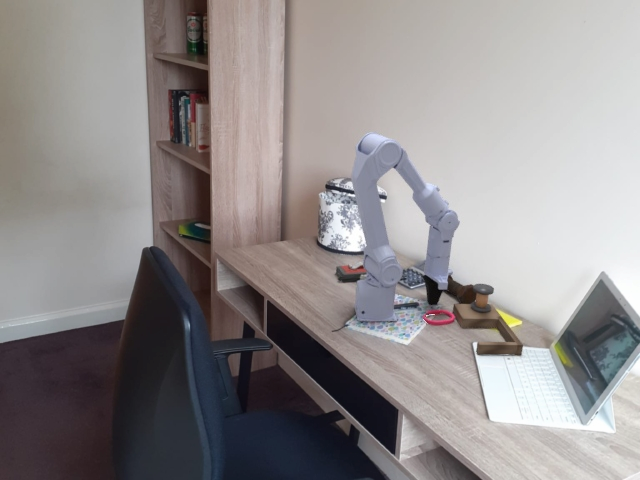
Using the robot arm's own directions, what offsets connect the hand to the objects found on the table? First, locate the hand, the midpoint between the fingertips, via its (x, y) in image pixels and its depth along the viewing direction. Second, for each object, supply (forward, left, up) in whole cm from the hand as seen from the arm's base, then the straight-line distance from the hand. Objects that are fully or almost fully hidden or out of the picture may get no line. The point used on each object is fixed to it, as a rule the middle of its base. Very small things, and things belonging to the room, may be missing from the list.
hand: (432, 304), depth 150 cm
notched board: (+9, -13, -1) cm, 16 cm away
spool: (+11, -5, +2) cm, 12 cm away
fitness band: (0, -6, -2) cm, 7 cm away
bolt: (+8, +9, -1) cm, 12 cm away
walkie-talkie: (-13, +19, -2) cm, 23 cm away
